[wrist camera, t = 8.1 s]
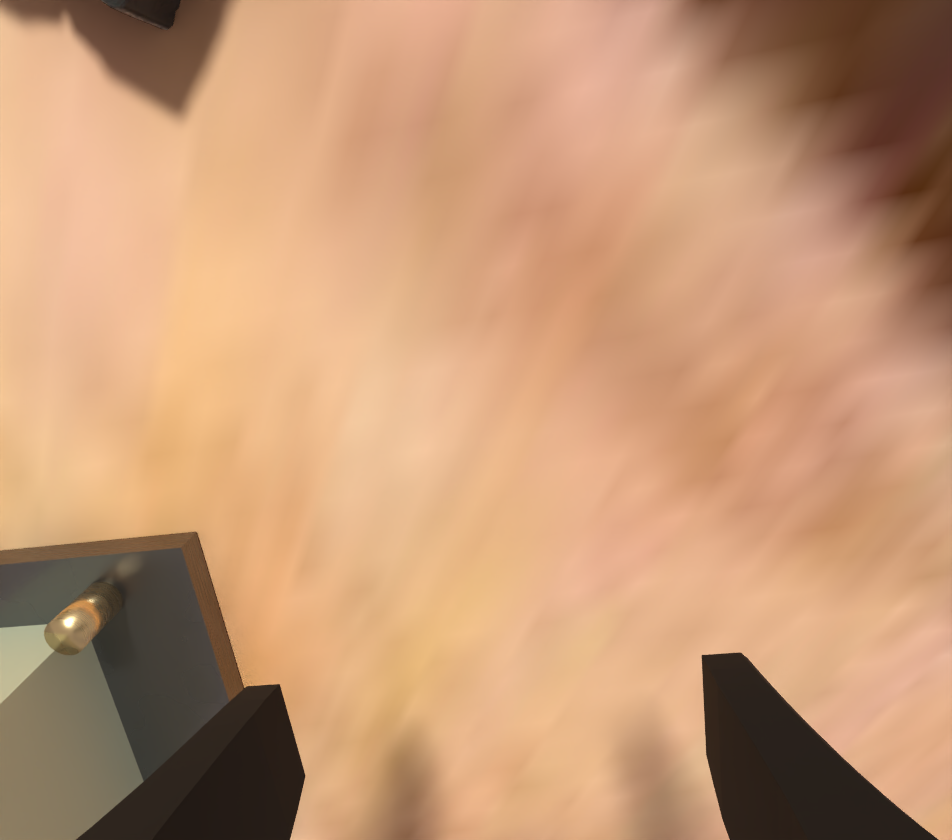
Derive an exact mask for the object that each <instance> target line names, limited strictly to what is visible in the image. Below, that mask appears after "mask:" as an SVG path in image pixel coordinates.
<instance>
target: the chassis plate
mask: <svg viewBox="0 0 952 840" xmlns="http://www.w3.org/2000/svg"><path fill="white" fill-rule="evenodd" d="M44 624H47V626H46V627H45V630H44V637H45V640H46V642H47V644H48V645H49V646H50V647H51V648H52V649H53V650H55V651H56V652H58V653H60V654H63V655H75V654H78V653H79V652H81V651H82V650H83V649H84V648H85V646H86V645H87V644H88V643H89V642H90V641H92V644H93V647H94V649H95V652H96V655H97V657H98V660H99V663H100V666H101V668H102V671H103V674H104V676H105V679H106V682H107V684H108V687H109V690H110V692H111V695H112V698H113V700H114V703H115V706H116V708H117V711H118V714H119V717H120V719H121V722H122V725H123V727H124V730H125V733H126V735H127V738H128V741H129V743H130V746H131V749H132V751H133V754H134V757H135V759H136V762H137V765H138V768H139V770H140V773H141V776H142V778H143V781H145V780H146V779H147V778H148V777H149V776H150V775H152V774H153V773H154V772H155V771H156V770H157V769H158V768H159V767H160V766H161V765H162V764H163V763H164V762H166V761H167V760H168V759H169V758H170V757H171V756H172V755H173V754H174V753H175V752H176V751H177V750H178V749H180V748H181V747H182V746H183V745H184V744H185V743H186V742H187V741H188V740H189V739H190V738H191V737H192V736H193V735H194V734H196V733H197V732H198V731H199V730H200V729H201V728H202V727H203V726H204V725H205V724H206V723H207V722H208V721H209V720H210V719H211V718H212V717H213V716H215V715H216V714H217V713H218V712H219V711H220V710H221V709H222V708H223V707H224V706H225V705H226V704H227V703H228V702H230V701H231V700H232V699H233V698H234V697H235V696H236V695H237V694H239V693H240V692H241V691H242V690H243V689H244V688H243V685H242V682H241V678H240V675H239V672H238V668H237V665H236V662H235V658H234V655H233V652H232V649H231V645H230V642H229V639H228V635H227V632H226V629H225V625H224V622H223V619H222V615H221V612H220V609H219V606H218V602H217V599H216V596H215V592H214V589H213V586H212V582H211V579H210V576H209V572H208V569H207V566H206V563H205V559H204V556H203V553H202V549H201V546H200V543H199V539H198V536H197V533H196V532H189V533H179V534H169V535H158V536H148V537H138V538H127V539H117V540H107V541H96V542H86V543H76V544H65V545H55V546H45V547H35V548H24V549H14V550H4V551H0V628H6V627H18V626H31V625H44Z"/></svg>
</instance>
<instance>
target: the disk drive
mask: <svg viewBox="0 0 952 840" xmlns="http://www.w3.org/2000/svg"><path fill="white" fill-rule="evenodd" d="M101 1H102V2H104V3H105V4H107V5H108V6H109V7H111V8H113V9H116V10H118V11H120V12H121V13H124V14H126V15H129V16H130V17H133V18H136V19H138V20H141V21H144V22H145V23H149V24H151V25H154V26H156V27H158V28H160V29H165V30H168V29H169V28H170V27H171V26H172V25H173V22H174V18H175V13H176V10H177V9H178V8H179V4H180V1H181V0H101Z"/></svg>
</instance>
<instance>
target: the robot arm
mask: <svg viewBox="0 0 952 840" xmlns="http://www.w3.org/2000/svg"><path fill="white" fill-rule="evenodd" d="M702 671H703V692H704V714H705V735H706V755H707V759H708V763H709V767H710V771H711V775H712V780H713V784H714V788H715V792H716V796H717V799H718V803H719V807H720V811H721V815H722V819H723V822H724V825H725V827H726V830H727V833H728V836H729V839H730V840H938V839H937V838H935V837H934V836H933V835H932V834H930V833H929V832H928V831H927V830H925V829H924V828H923V827H921V826H920V825H919V824H918V823H917V822H915V821H914V820H913V819H912V818H910V817H909V816H908V815H907V814H906V813H904V812H903V811H902V810H901V809H900V808H898V807H897V806H896V805H895V804H894V803H893V802H891V801H890V800H889V799H888V798H887V797H886V796H884V795H883V794H882V793H881V792H880V791H879V790H878V789H877V788H875V787H874V786H873V785H872V784H871V783H870V782H869V781H867V780H866V779H865V778H864V777H863V776H862V775H861V774H860V773H858V772H857V771H856V770H855V769H854V768H853V767H852V766H851V765H850V764H849V763H848V762H847V761H846V760H844V759H843V758H842V757H841V756H840V755H839V754H838V753H837V752H836V751H835V750H834V749H833V748H832V747H831V746H830V745H829V744H828V743H827V742H826V741H825V740H824V739H823V738H822V737H821V736H820V735H819V734H818V733H817V732H816V731H815V730H814V729H813V728H812V727H811V726H809V725H808V723H807V722H806V721H805V720H804V719H803V718H802V717H801V716H800V715H799V714H798V713H797V712H796V711H795V710H794V709H793V708H792V707H791V706H790V705H789V704H788V703H787V702H786V701H785V700H784V698H783V697H782V696H781V695H780V694H779V693H778V692H777V691H776V690H775V689H774V688H773V687H772V685H771V684H770V683H769V682H768V681H767V680H766V679H765V678H764V677H763V675H762V674H761V673H760V672H759V671H758V670H757V669H756V668H755V666H754V665H753V664H752V663H751V662H750V661H749V659H748V658H747V657H745V656H744V655H743V654H742V653H727V654H713V655H702ZM304 779H305V773H304V769H303V766H302V762H301V758H300V755H299V751H298V748H297V744H296V741H295V737H294V734H293V730H292V727H291V723H290V719H289V716H288V712H287V709H286V705H285V702H284V698H283V695H282V691H281V687H280V684H276V685H261V686H247V687H246V688H244V689H243V690H242V691H241V692H240V693H239V694H237V695H236V696H235V697H234V698H233V699H232V700H231V701H230V702H228V703H227V704H226V705H225V706H224V707H223V708H222V709H221V710H220V711H219V712H218V713H217V714H216V715H215V716H213V717H212V718H211V719H210V720H209V721H208V722H207V723H206V724H205V725H204V726H203V727H202V728H201V729H200V730H199V731H198V732H197V733H196V734H194V735H193V736H192V737H191V738H190V739H189V740H188V741H187V742H186V743H185V744H184V745H183V746H182V747H181V748H180V749H178V750H177V751H176V752H175V753H174V754H173V755H172V756H171V757H170V758H169V759H168V760H167V761H166V762H164V763H163V764H162V765H161V766H160V767H159V768H158V769H157V770H156V771H155V772H154V773H153V774H152V775H150V776H149V777H148V778H147V779H146V780H145V781H144V782H143V783H141V784H140V785H139V786H138V787H137V788H136V789H134V790H133V791H132V792H131V793H130V794H129V795H128V796H126V797H125V798H124V799H123V800H122V801H121V802H120V803H118V804H117V805H116V806H115V807H114V808H113V809H111V810H110V811H109V812H108V813H107V814H106V815H105V816H103V817H102V818H101V819H100V820H99V821H98V822H96V823H95V824H94V825H93V826H92V827H91V828H89V829H88V830H87V831H86V832H84V833H83V834H82V835H81V836H80V837H78V838H77V839H76V840H290V837H291V833H292V829H293V825H294V822H295V818H296V814H297V810H298V806H299V801H300V797H301V793H302V788H303V784H304Z"/></svg>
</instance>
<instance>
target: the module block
mask: <svg viewBox="0 0 952 840" xmlns="http://www.w3.org/2000/svg"><path fill="white" fill-rule="evenodd" d="M46 626H47V624H44V625H31V626H18V627H6V628H0V840H76V839H77V838H78V837H80V836H81V835H82V834H83V833H84V832H86V831H87V830H88V829H89V828H91V827H92V826H93V825H94V824H95V823H96V822H98V821H99V820H100V819H101V818H102V817H103V816H105V815H106V814H107V813H108V812H109V811H110V810H111V809H113V808H114V807H115V806H116V805H117V804H118V803H120V802H121V801H122V800H123V799H124V798H125V797H126V796H128V795H129V794H130V793H131V792H132V791H133V790H134V789H136V788H137V787H138V786H139V785H140V784H141V783H143V782H144V781H143V778H142V776H141V773H140V770H139V768H138V765H137V762H136V759H135V757H134V754H133V751H132V749H131V746H130V743H129V741H128V738H127V735H126V733H125V730H124V727H123V725H122V722H121V719H120V717H119V714H118V711H117V708H116V706H115V703H114V700H113V698H112V695H111V692H110V690H109V687H108V684H107V682H106V679H105V676H104V674H103V671H102V668H101V666H100V663H99V660H98V657H97V655H96V652H95V649H94V647H93V644H92V641H90V642H89V643H88V644H87V645H86V646H85V648H84V649H83V650H82V651H81V652H79V653H78V654H75V655H63V654H60V653H58V652H56V651H55V650H53V649H52V648H51V647H50V646H49V645H48V644H47V642H46V640H45V637H44V630H45V627H46Z"/></svg>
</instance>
